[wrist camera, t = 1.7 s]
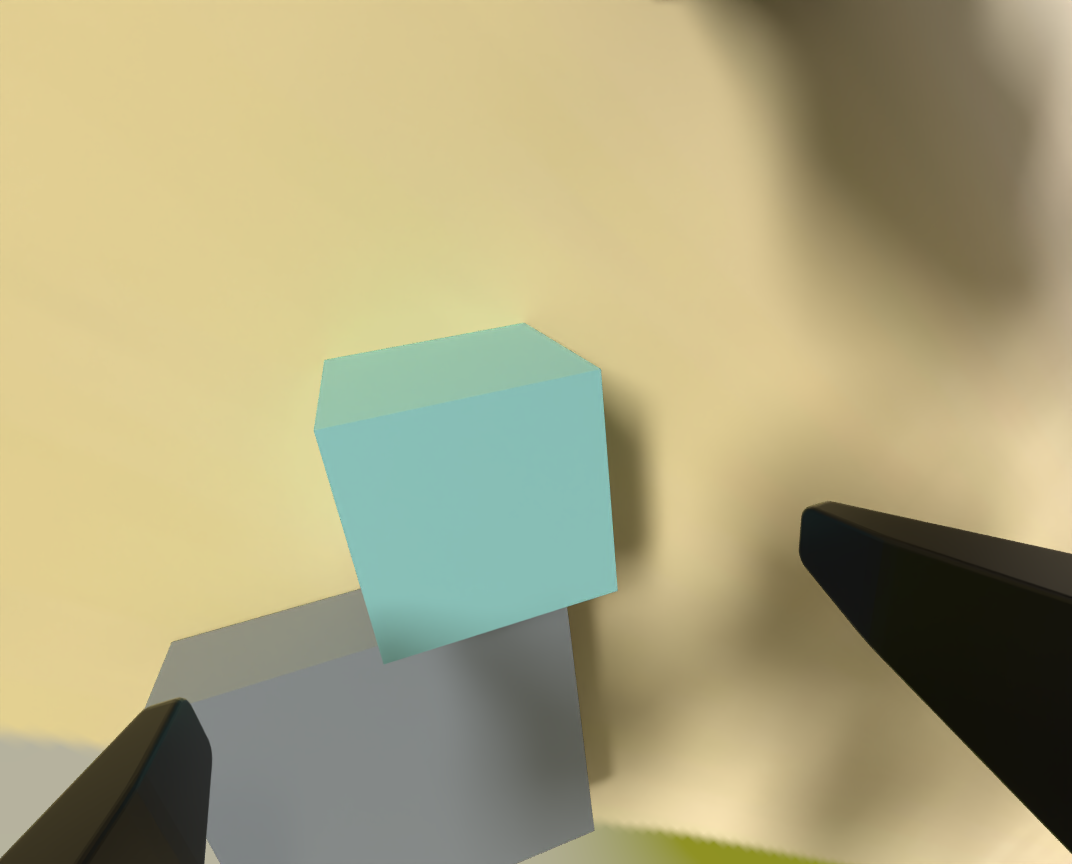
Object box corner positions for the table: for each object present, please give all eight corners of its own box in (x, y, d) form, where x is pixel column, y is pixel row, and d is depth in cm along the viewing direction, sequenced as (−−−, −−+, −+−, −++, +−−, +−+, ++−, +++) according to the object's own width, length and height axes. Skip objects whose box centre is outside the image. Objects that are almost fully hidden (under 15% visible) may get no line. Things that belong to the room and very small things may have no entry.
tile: (536, 539, 17) (564, 588, 15) (568, 765, 21) (594, 830, 19) (171, 642, 15) (140, 718, 12) (284, 874, 19) (276, 964, 16)
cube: (523, 322, 15) (600, 369, 10) (544, 489, 17) (617, 590, 12) (324, 359, 13) (313, 430, 9) (372, 534, 15) (383, 664, 11)
